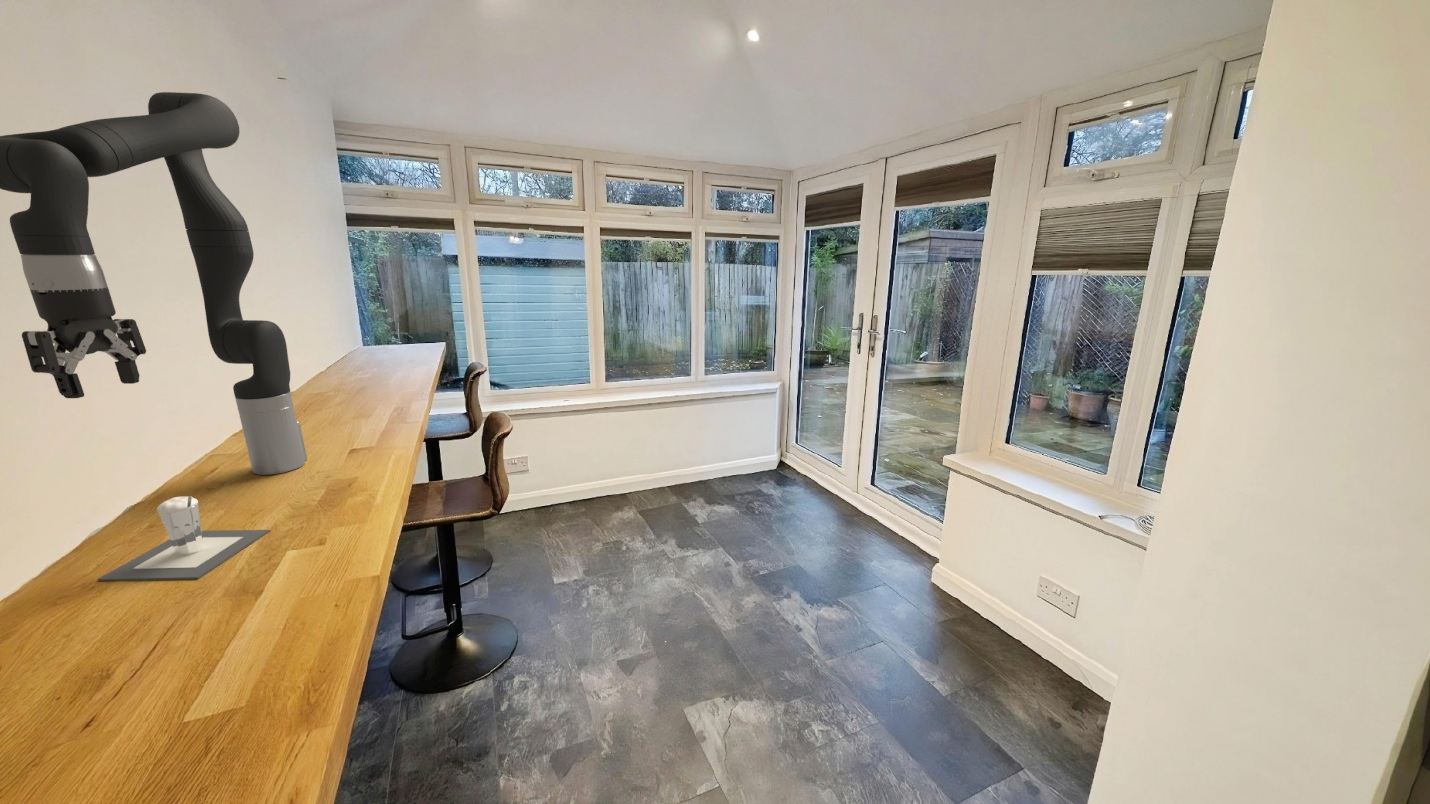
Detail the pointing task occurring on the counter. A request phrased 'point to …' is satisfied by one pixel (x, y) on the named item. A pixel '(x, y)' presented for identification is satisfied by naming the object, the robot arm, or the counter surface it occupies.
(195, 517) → the milkshake
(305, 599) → the counter surface
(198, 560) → the pad
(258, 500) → the counter surface
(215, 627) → the counter surface
